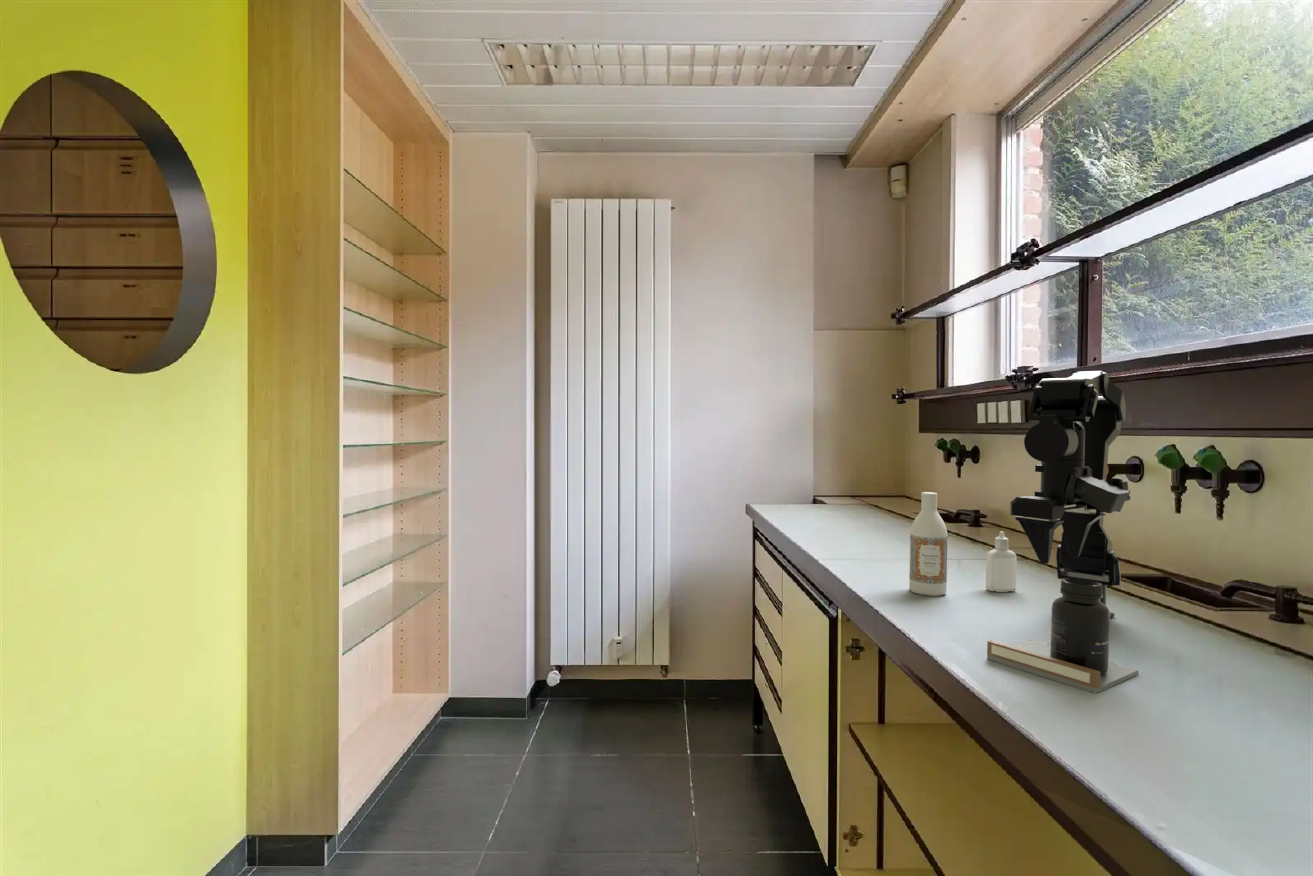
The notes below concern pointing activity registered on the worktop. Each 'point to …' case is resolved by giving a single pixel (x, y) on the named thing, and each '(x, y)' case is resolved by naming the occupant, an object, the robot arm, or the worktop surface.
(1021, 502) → the robot arm
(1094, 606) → the supplement bottle
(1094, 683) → the shelf board
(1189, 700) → the worktop surface
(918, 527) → the bath foam
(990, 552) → the eye dropper bottle
